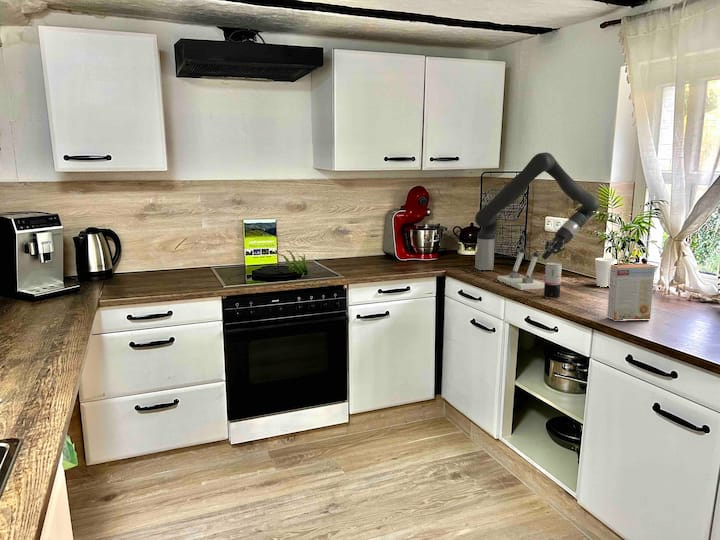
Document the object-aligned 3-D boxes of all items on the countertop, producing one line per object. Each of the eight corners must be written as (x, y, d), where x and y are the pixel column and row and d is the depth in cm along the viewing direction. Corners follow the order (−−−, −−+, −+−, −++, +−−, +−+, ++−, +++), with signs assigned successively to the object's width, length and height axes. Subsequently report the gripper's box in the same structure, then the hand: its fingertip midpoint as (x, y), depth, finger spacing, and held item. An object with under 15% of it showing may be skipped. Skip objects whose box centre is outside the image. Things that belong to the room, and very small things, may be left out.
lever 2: (528, 277, 260) (537, 252, 259) (531, 279, 257) (541, 253, 256) (523, 276, 259) (533, 250, 258) (526, 277, 257) (536, 251, 255)
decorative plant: (301, 268, 311) (300, 242, 308) (308, 278, 283) (308, 250, 280) (269, 269, 307) (268, 243, 304) (273, 280, 279) (272, 252, 276)
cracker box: (641, 316, 208) (646, 263, 204) (650, 321, 203) (656, 266, 198) (605, 317, 208) (610, 263, 204) (613, 322, 202) (618, 267, 198)
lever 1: (515, 273, 271) (524, 248, 270) (518, 274, 269) (527, 249, 267) (510, 271, 271) (519, 247, 269) (513, 272, 268) (522, 247, 267)
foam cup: (592, 287, 256) (594, 260, 254) (594, 283, 264) (596, 257, 262) (614, 289, 252) (616, 261, 249) (615, 285, 260) (617, 258, 257)
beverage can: (540, 296, 240) (542, 263, 237) (549, 294, 244) (551, 261, 241) (553, 299, 235) (555, 265, 232) (562, 297, 239) (564, 263, 236)
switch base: (520, 278, 277) (520, 270, 276) (545, 288, 256) (545, 279, 255) (497, 280, 274) (497, 272, 273) (520, 289, 253) (521, 281, 252)
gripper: (554, 224, 264) (530, 251, 264) (571, 228, 252) (546, 255, 251) (563, 235, 267) (540, 261, 266) (580, 238, 254) (556, 266, 253)
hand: (543, 258), depth 259 cm, fingers closed
